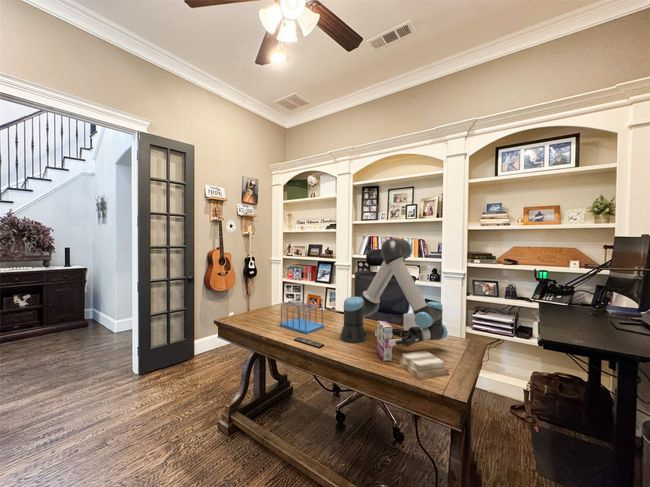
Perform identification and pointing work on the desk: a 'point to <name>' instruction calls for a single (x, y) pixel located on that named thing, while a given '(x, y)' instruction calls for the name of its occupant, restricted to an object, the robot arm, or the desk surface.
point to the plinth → (423, 374)
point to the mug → (409, 321)
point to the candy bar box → (384, 340)
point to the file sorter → (301, 320)
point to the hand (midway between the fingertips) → (381, 338)
